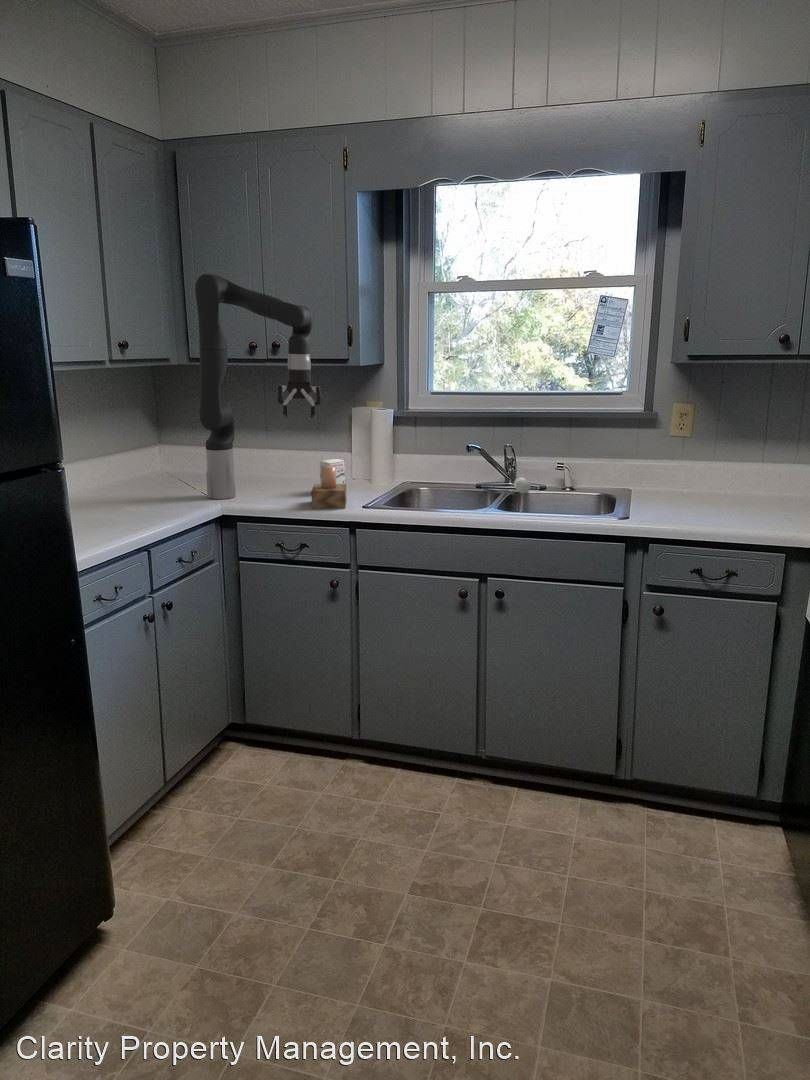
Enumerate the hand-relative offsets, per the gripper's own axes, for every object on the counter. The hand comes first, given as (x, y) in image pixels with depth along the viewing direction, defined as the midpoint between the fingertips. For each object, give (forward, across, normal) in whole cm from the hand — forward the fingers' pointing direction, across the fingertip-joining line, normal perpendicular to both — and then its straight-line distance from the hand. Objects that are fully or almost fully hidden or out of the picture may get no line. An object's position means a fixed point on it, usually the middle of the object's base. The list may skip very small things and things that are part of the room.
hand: (299, 416), depth 269 cm
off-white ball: (+24, +80, +10) cm, 84 cm away
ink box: (+29, +11, +14) cm, 34 cm away
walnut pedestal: (+29, +11, -7) cm, 31 cm away
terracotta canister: (+23, +10, -7) cm, 26 cm away
